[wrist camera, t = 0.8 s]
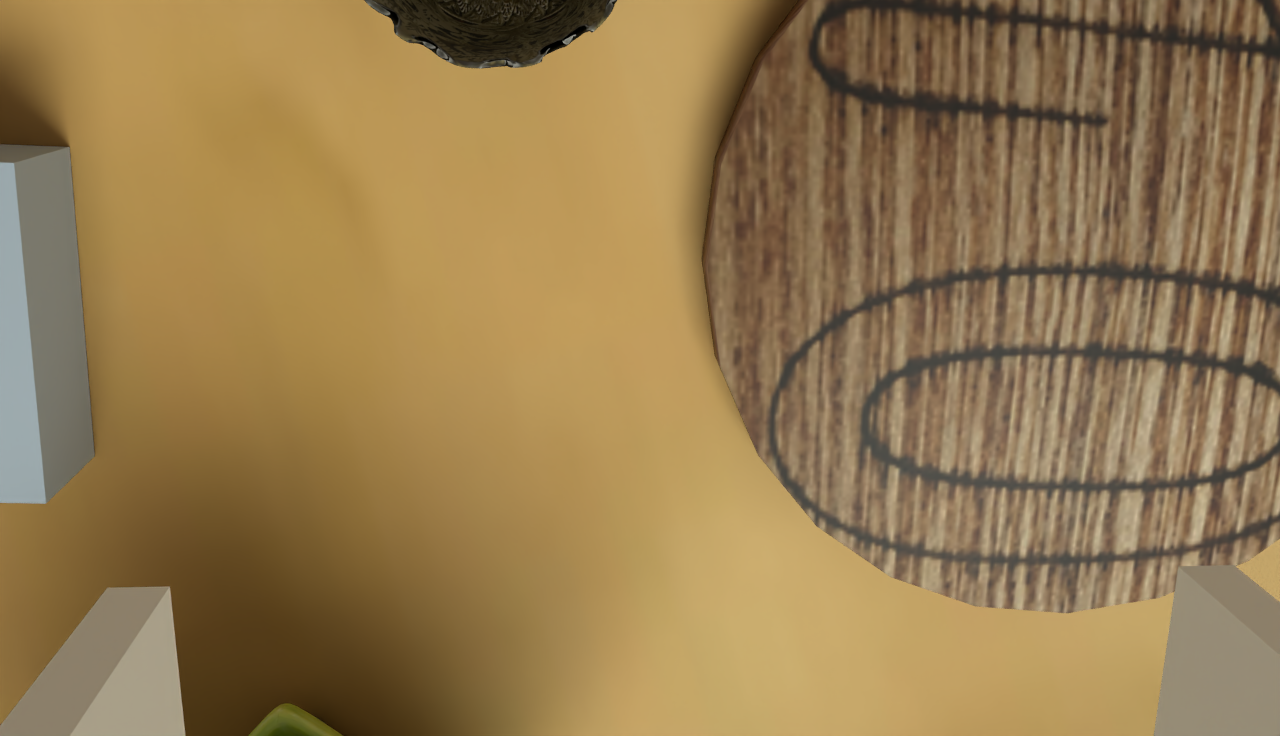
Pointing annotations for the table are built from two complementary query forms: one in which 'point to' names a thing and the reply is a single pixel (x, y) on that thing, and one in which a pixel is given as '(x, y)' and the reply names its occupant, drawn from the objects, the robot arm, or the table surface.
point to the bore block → (40, 328)
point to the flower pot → (292, 723)
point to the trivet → (1011, 287)
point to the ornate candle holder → (493, 27)
